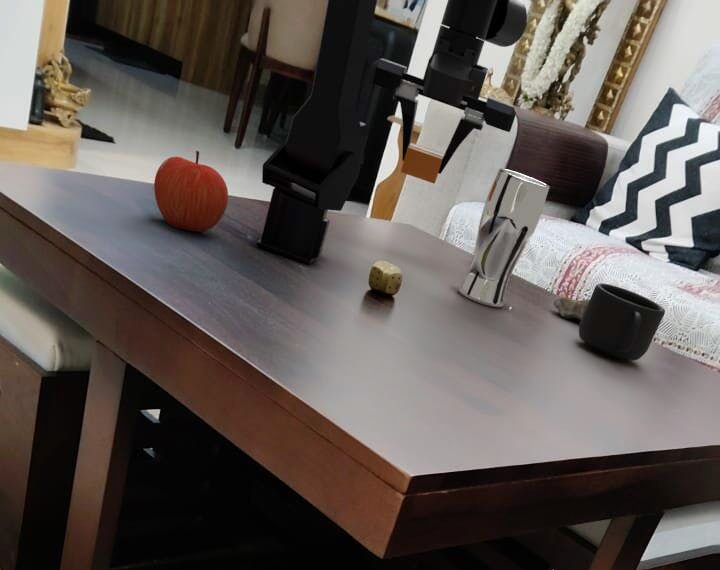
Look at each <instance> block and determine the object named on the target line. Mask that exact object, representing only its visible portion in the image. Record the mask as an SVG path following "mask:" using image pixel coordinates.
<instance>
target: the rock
mask: <svg viewBox="0 0 720 570" xmlns="http://www.w3.org/2000/svg"><path fill="white" fill-rule="evenodd" d="M589 301H590V298H589V299H580V300H579V299H578V300H576V299H572V298H570V297H567V296H565V297H564V296H563V297H560V298H557V299H555V300H554V301H553V306H554V308H555V309H557V310H558V312H559V314H560V316H561V317H562V318H565V319H567V320H569V319H579V320H580V321H581V319H582V317H583V315H584V312H585V310H586V308H587V305H588V303H589Z"/></svg>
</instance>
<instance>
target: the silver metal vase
mask: <svg viewBox="0 0 720 570" xmlns="http://www.w3.org/2000/svg"><path fill="white" fill-rule="evenodd" d="M497 171H498V172H497V174H496V176H495V178H494V181H493V183H492V186H491V188H490V190H489V192H488V195H487V198H486V200H485V203H484V206H483V209H482V213H481V216H480V219H479V225H478V230H477V235H476V241H475V246H474V251H473V256H472V258H471V259H472V260H471V262H470V266H469V268H468V270H467V272H466V274H465V276H464V278H463V280H462V281H461V283H460V285H459V287H458V293H459V294H460V295H461V296H463V297H464V298H466V299H469V300H470V301H473V302H475V303H478V304H481V305H484V306H486V307H487V306H488V307H492V308H496V309H497V308H502V307H503V306H504V302H505V299H506V298H505V297H506V293H507V288H508V286H509V285H508V284H509V282H510V279H511V276H512V274H513V272H514V271H515V268H516V266H517V265H518V262H519V261H520V259H521V257H522V255H524V252H525V250H526V249H527V247H528V245H529V243H530V241H531V239H532V237H533V236H534V234H535V232H536V229H537V226H538V224H539V222H540V219H541V215H542V213H543V211H544V206H545V204H546V199H547V196H548V193H549V191H550V188H551V186H549V185H548V184H546V183H545V182H543V181H541V180H538V179H536V178H534V177H530V176H528V175H525V174H523V173H521V172H517V171H513V170H510V169H507V168H502V167H500V168H499V169H498V170H497Z"/></svg>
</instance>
